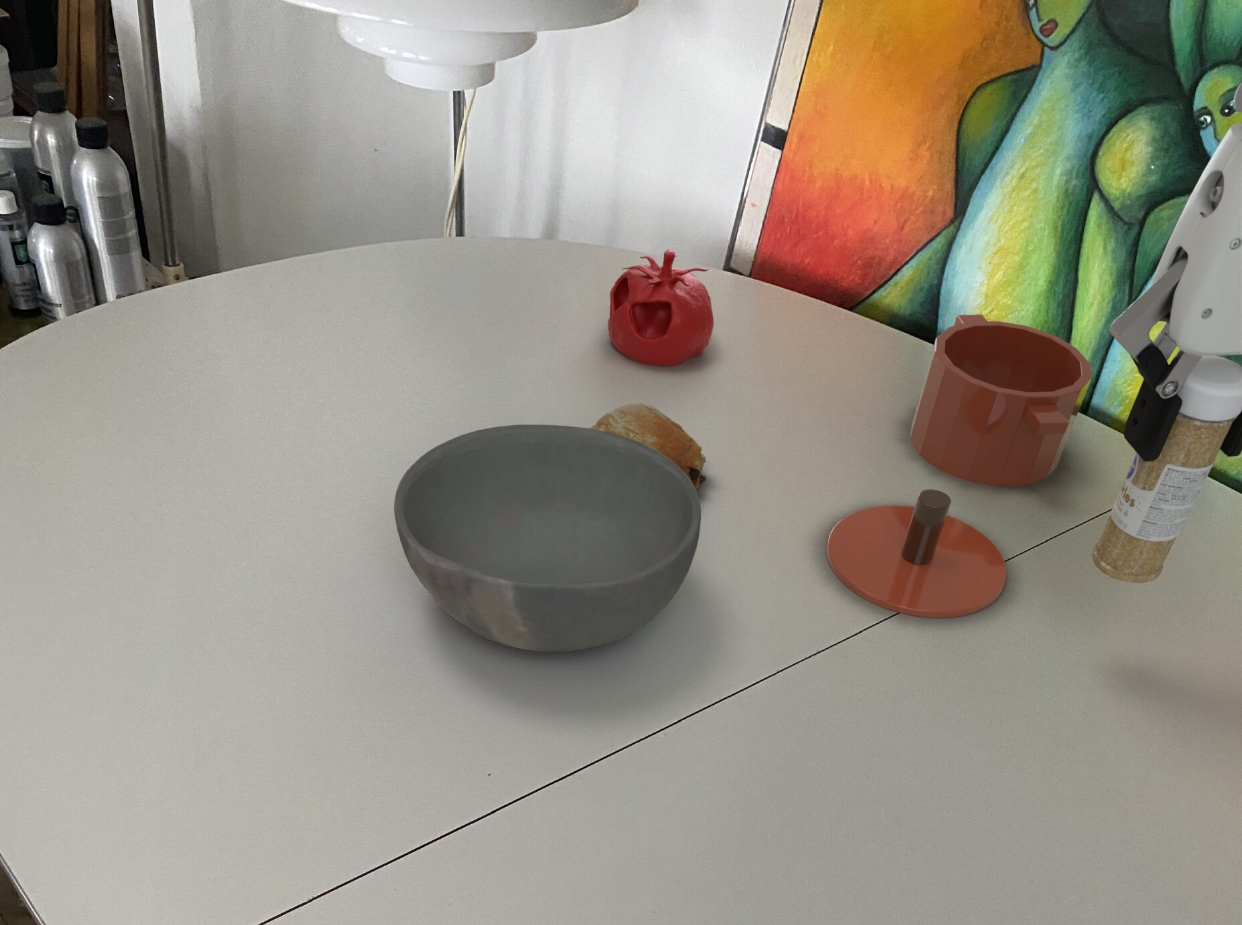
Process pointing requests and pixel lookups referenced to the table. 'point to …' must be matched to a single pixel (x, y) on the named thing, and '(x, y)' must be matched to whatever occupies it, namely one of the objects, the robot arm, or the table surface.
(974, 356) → the pot
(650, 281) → the red tomato
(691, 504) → the bowl
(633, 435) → the bread roll
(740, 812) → the table surface
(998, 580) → the lid
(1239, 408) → the sprinkles bottle
